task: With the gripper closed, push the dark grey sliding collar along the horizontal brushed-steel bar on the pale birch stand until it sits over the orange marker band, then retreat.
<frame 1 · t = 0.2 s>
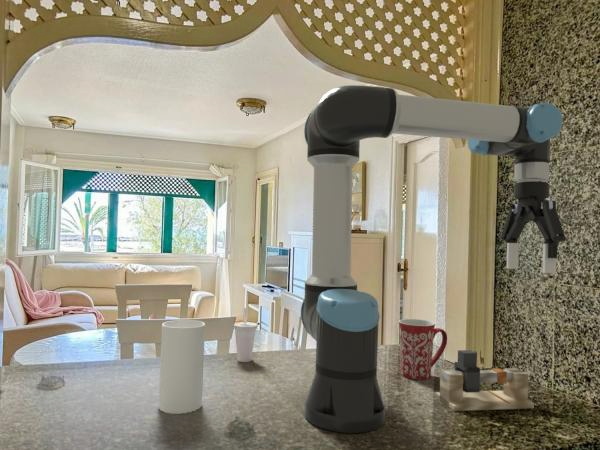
hand: (529, 270, 107), 28 cm above the worktop, fingers open, 13 cm apart
cup: (180, 406, 88), on the worktop
dark grey sliding collar: (466, 370, 95), point 7 cm above the worktop, slide at 0.0 cm
smoothie: (244, 360, 122), on the worktop
rail: (483, 402, 96), on the worktop
mug: (422, 376, 113), on the worktop
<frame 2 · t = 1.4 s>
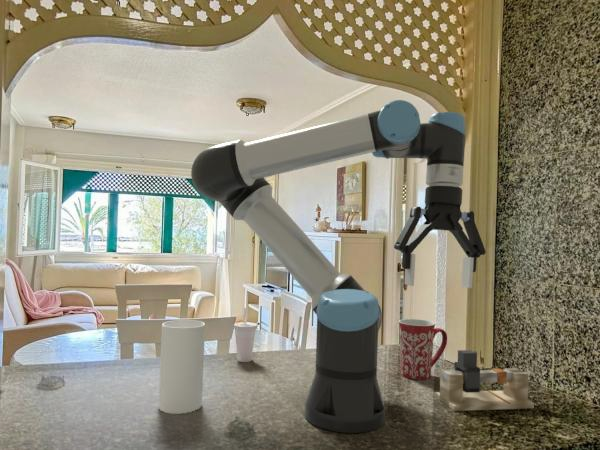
hand: (438, 286, 95), 24 cm above the worktop, fingers open, 13 cm apart
nothing on the worktop moved.
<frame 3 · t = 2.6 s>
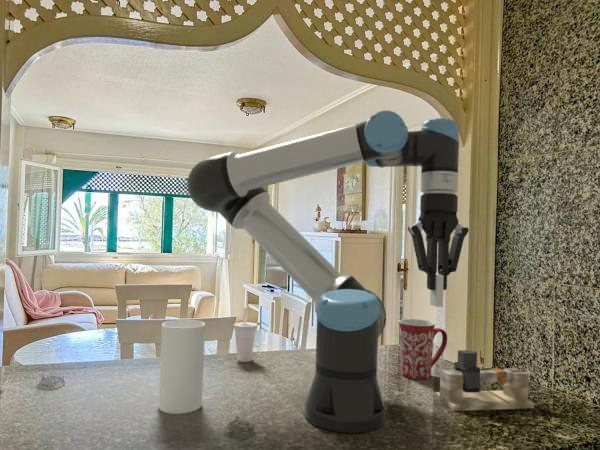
hand: (436, 305, 94), 20 cm above the worktop, fingers closed
nothing on the worktop moved.
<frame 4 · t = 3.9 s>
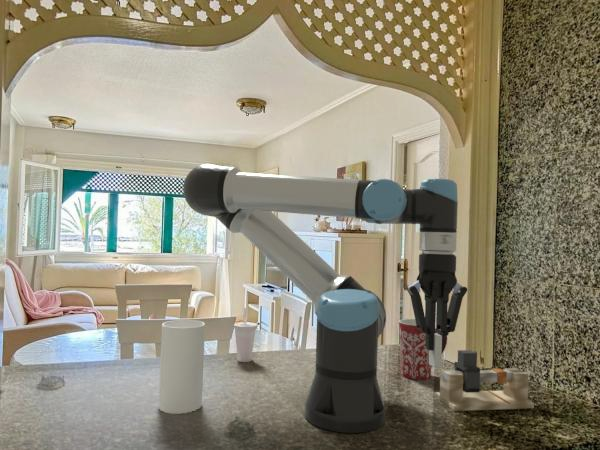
hand: (434, 365, 94), 8 cm above the worktop, fingers closed
nothing on the worktop moved.
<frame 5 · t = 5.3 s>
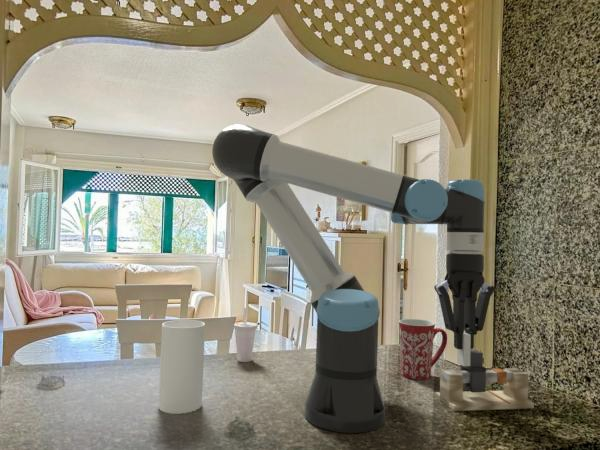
hand: (463, 364, 95), 8 cm above the worktop, fingers closed
dark grey sliding collar: (472, 369, 95), point 7 cm above the worktop, slide at 1.4 cm, touching gripper
everything else where it was.
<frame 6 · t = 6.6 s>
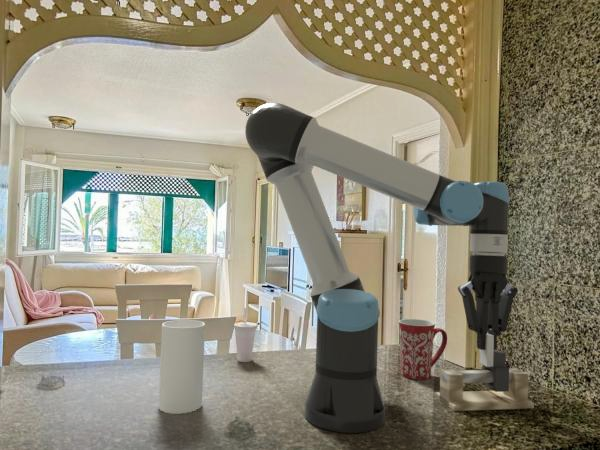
hand: (486, 364, 96), 8 cm above the worktop, fingers closed
dark grey sliding collar: (495, 369, 96), point 7 cm above the worktop, slide at 6.7 cm, touching gripper
everything else where it was.
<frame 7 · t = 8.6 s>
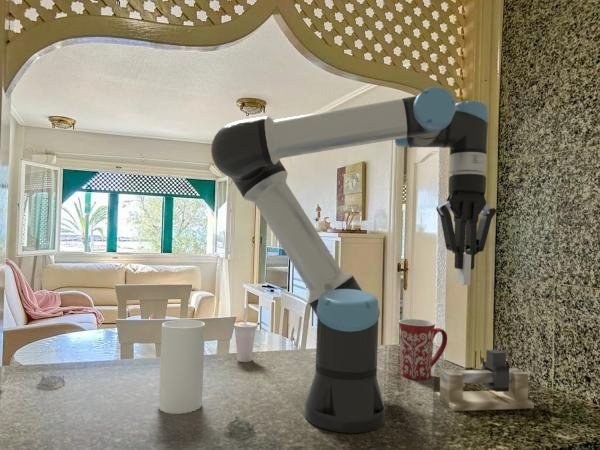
hand: (463, 284, 96), 25 cm above the worktop, fingers closed
dark grey sliding collar: (495, 369, 96), point 7 cm above the worktop, slide at 6.7 cm
everything else where it was.
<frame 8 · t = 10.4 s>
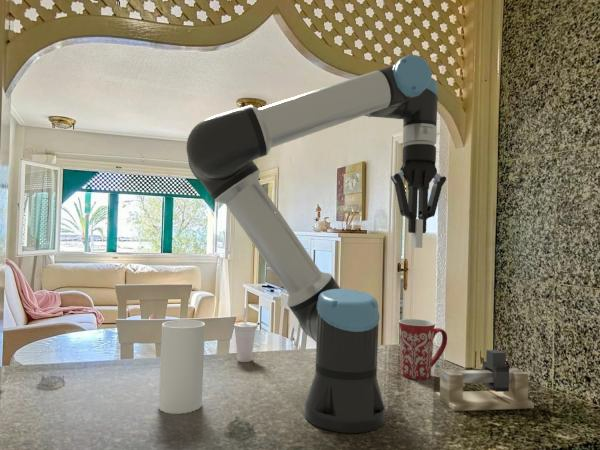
hand: (416, 247, 103), 32 cm above the worktop, fingers closed
nothing on the worktop moved.
at the end: dark grey sliding collar slide at 6.7 cm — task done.
